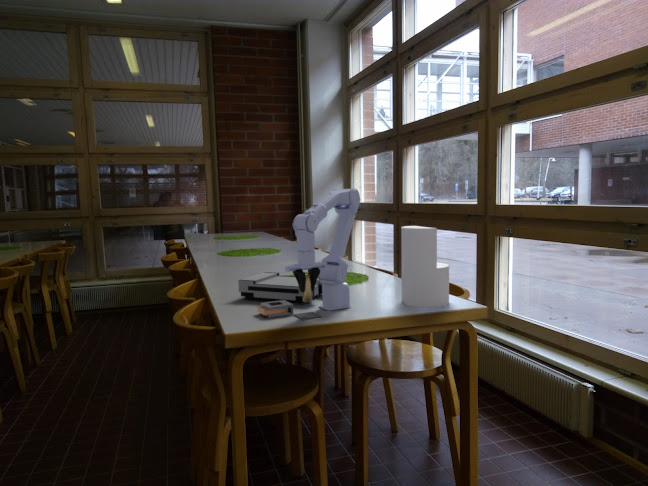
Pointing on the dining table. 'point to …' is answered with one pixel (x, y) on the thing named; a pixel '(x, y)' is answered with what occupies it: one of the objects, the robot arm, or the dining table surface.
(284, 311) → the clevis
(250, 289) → the game console
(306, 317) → the rubber mat
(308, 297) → the brass peg
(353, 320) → the dining table surface
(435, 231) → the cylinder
